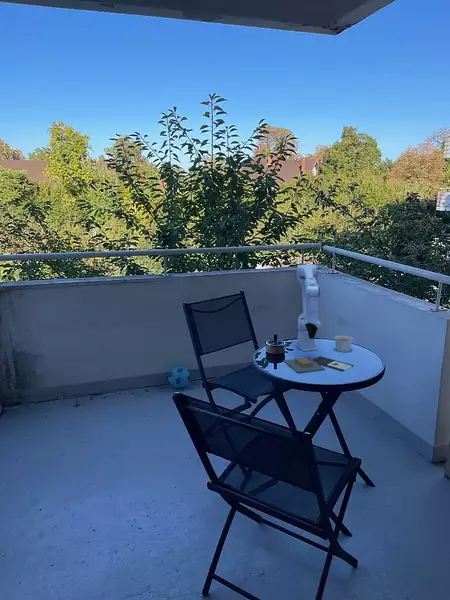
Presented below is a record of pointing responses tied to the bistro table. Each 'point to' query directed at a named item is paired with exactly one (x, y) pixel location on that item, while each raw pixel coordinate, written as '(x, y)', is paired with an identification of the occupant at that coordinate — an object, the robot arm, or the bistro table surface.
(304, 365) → the ash tile
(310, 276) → the robot arm
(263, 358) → the bistro table surface
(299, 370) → the rubber mat
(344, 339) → the candle
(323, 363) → the chocolate bar
